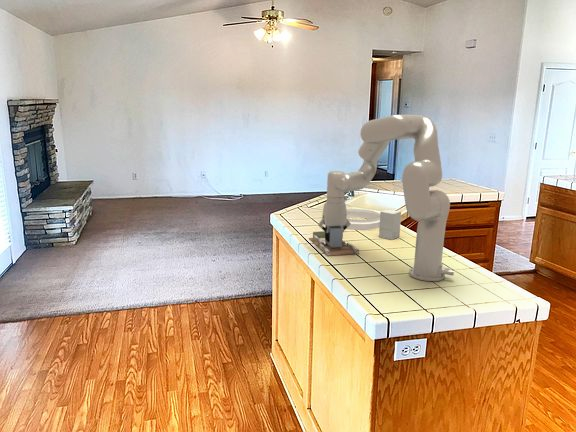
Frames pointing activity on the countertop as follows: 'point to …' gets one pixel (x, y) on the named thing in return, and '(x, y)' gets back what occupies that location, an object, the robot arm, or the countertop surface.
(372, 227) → the plate
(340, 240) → the slider block
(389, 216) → the supplement box
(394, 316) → the countertop surface
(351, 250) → the track
